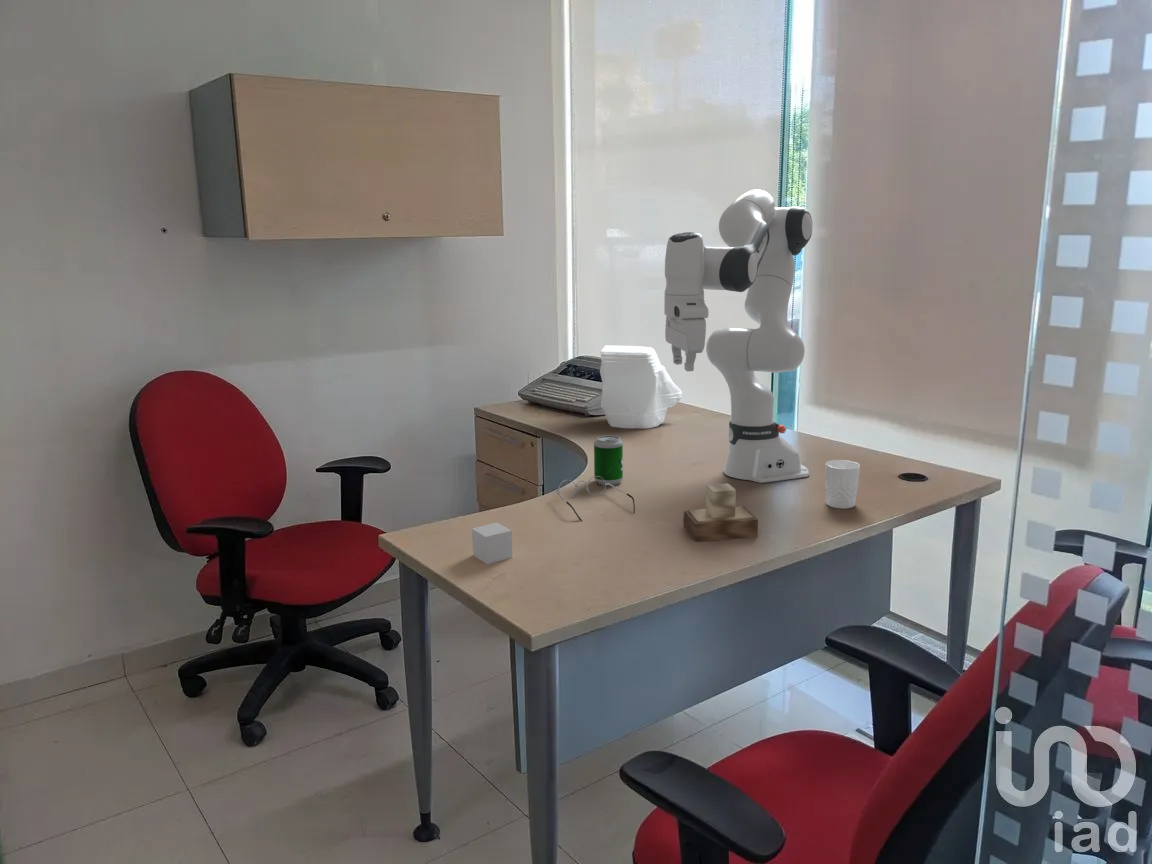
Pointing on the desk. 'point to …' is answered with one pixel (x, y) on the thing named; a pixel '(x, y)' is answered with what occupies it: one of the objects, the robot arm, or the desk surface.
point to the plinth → (720, 525)
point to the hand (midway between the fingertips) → (683, 367)
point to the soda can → (608, 460)
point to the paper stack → (635, 387)
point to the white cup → (841, 483)
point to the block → (720, 500)
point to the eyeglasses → (590, 493)
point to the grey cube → (492, 543)
